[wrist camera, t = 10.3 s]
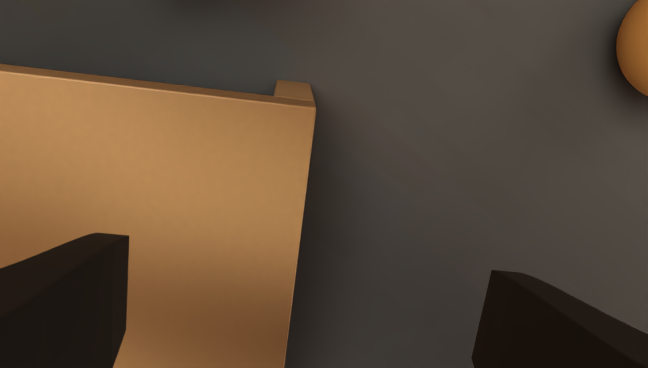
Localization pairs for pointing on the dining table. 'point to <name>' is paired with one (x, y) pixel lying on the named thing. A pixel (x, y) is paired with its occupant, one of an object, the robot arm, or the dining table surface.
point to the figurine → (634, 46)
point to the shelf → (166, 203)
